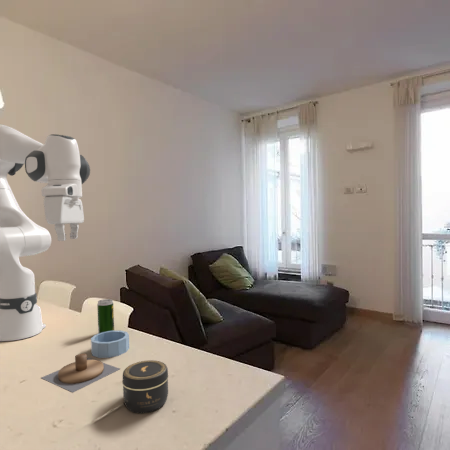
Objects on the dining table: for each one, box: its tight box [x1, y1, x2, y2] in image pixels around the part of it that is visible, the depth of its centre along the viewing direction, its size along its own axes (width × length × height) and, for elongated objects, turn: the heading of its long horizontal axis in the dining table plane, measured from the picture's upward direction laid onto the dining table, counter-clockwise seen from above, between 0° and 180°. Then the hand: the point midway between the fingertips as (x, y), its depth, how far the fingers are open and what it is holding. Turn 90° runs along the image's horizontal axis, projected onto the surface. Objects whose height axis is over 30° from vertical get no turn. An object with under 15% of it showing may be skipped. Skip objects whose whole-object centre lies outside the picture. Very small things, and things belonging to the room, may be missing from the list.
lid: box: [58, 353, 104, 384], centre depth 89 cm, size 11×11×5 cm
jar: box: [122, 359, 169, 414], centre depth 76 cm, size 10×10×8 cm
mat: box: [40, 357, 121, 393], centre depth 89 cm, size 14×14×1 cm
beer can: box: [96, 298, 115, 334], centre depth 121 cm, size 5×5×12 cm
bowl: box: [90, 330, 130, 359], centre depth 104 cm, size 11×11×5 cm
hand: (68, 239), depth 97 cm, fingers open, 8 cm apart
